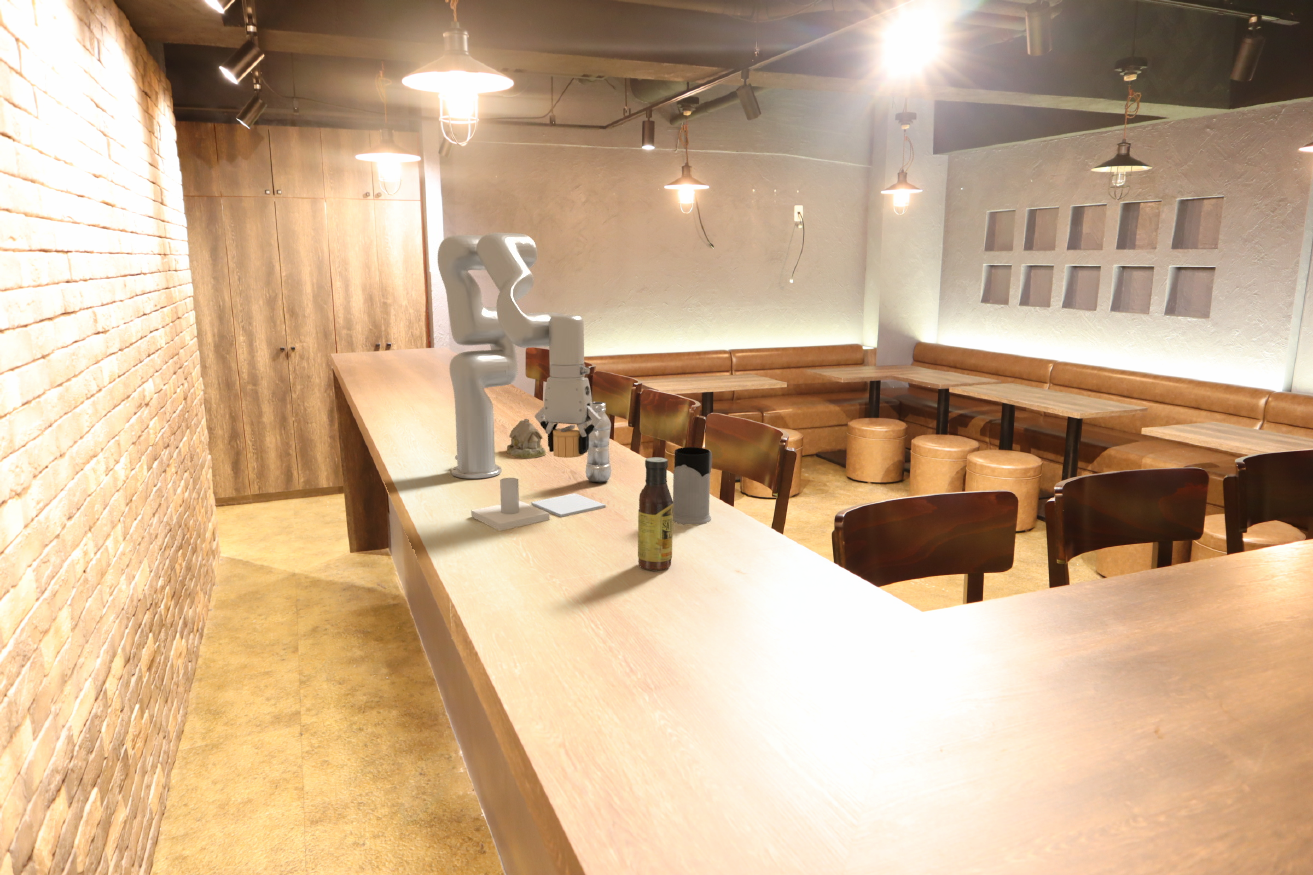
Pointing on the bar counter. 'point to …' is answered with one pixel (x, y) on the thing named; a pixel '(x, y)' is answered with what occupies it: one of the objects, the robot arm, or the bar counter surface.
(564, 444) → the knob
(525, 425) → the ceramic model
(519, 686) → the bar counter surface
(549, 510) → the mat
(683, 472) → the glass holder
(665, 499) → the sauce bottle
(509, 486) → the post block
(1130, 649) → the bar counter surface
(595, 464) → the plastic bottle
